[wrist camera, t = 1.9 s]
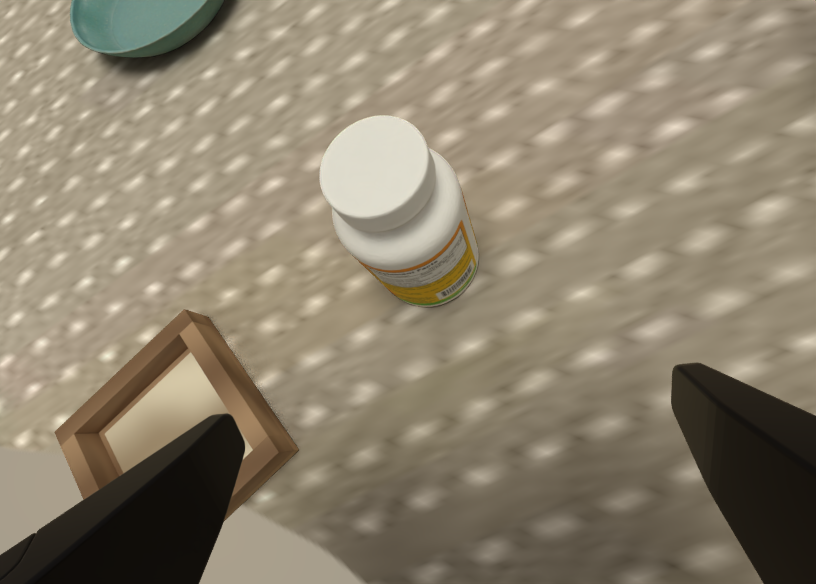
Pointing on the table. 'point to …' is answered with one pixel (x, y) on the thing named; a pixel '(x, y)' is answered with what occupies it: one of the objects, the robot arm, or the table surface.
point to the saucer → (139, 24)
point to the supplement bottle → (400, 210)
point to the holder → (173, 410)
